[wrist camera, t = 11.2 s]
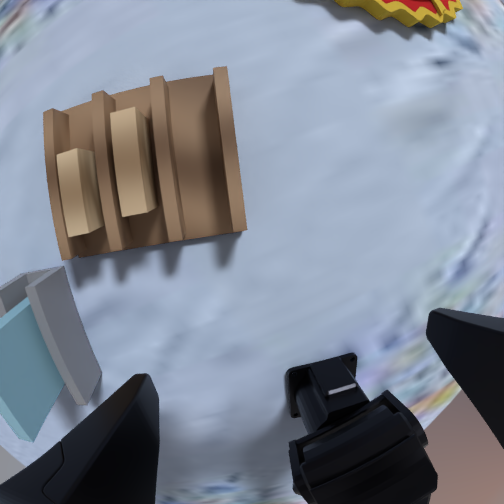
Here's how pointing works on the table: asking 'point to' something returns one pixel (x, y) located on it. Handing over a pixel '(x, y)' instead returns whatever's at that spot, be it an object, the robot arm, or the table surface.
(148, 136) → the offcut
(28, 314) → the tall sheet
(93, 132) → the rack
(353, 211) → the table surface
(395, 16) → the decorative plaque
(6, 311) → the holder
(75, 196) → the offcut small
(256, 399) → the table surface
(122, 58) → the table surface
